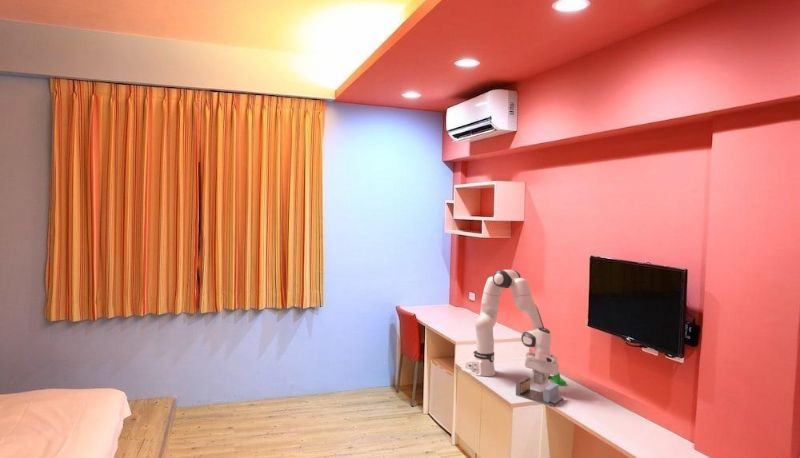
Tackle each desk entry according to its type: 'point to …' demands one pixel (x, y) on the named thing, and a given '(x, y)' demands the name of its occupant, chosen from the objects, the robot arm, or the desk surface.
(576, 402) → the desk surface
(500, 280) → the robot arm
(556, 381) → the mechanical part
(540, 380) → the steel block
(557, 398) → the free jaw
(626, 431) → the desk surface
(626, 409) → the desk surface
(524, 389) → the vise base
